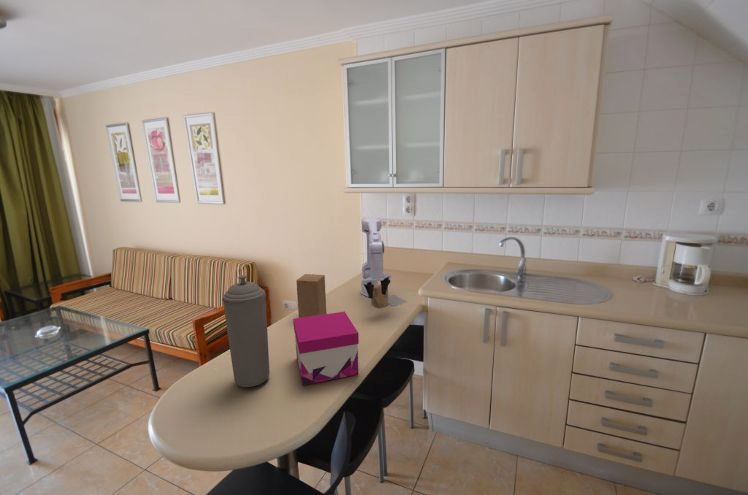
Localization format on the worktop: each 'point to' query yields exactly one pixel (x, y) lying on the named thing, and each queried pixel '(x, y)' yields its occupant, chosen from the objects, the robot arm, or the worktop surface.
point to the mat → (395, 300)
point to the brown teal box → (379, 297)
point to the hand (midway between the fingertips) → (377, 296)
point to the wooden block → (311, 295)
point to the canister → (247, 332)
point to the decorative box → (326, 347)
